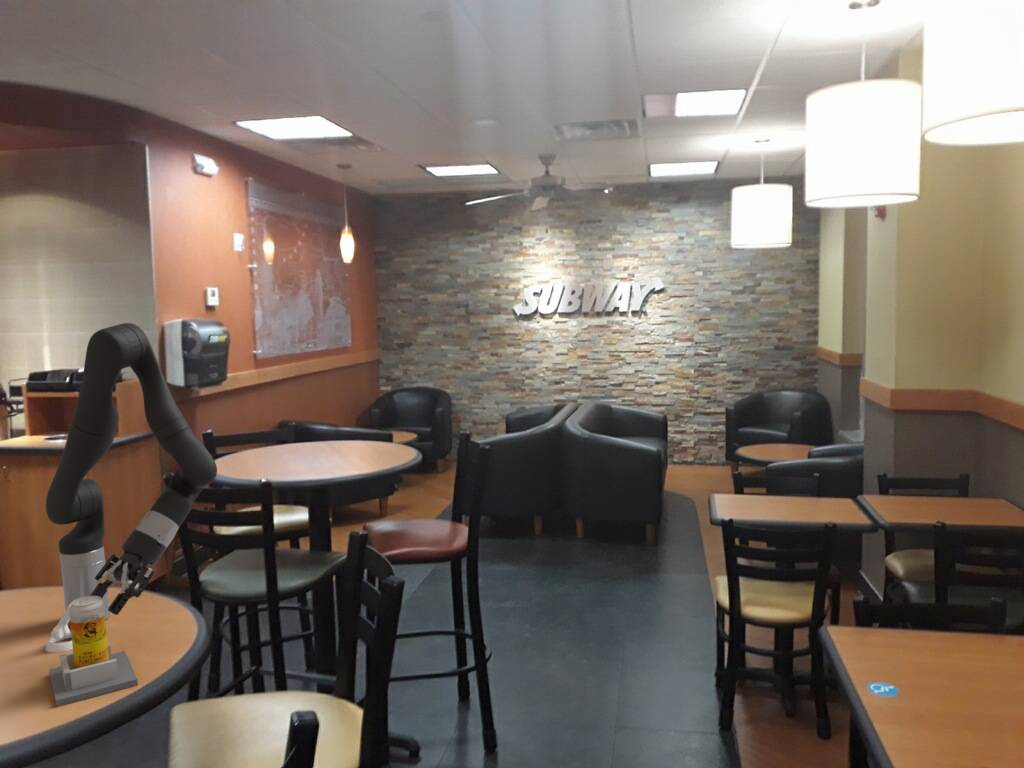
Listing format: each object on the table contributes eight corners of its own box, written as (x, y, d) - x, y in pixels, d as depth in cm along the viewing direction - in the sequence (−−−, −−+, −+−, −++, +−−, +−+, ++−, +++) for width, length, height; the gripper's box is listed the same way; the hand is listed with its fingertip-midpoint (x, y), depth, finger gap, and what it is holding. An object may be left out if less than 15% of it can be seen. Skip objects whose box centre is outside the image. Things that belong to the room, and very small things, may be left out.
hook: (92, 628, 176) (60, 614, 174) (67, 669, 179) (36, 656, 177) (105, 608, 183) (74, 594, 181) (81, 648, 186) (50, 634, 184)
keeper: (49, 675, 166) (47, 652, 166) (125, 656, 174) (123, 634, 173) (56, 706, 153) (53, 682, 152) (137, 684, 160) (135, 661, 160)
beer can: (80, 683, 159) (73, 609, 157) (72, 673, 164) (64, 600, 162) (113, 673, 163) (107, 600, 161) (104, 663, 168) (98, 592, 166)
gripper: (120, 523, 174) (69, 592, 166) (156, 533, 165) (104, 607, 157) (146, 541, 179) (98, 609, 171) (182, 552, 170) (133, 624, 162)
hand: (101, 608), depth 164 cm, fingers open, 8 cm apart
